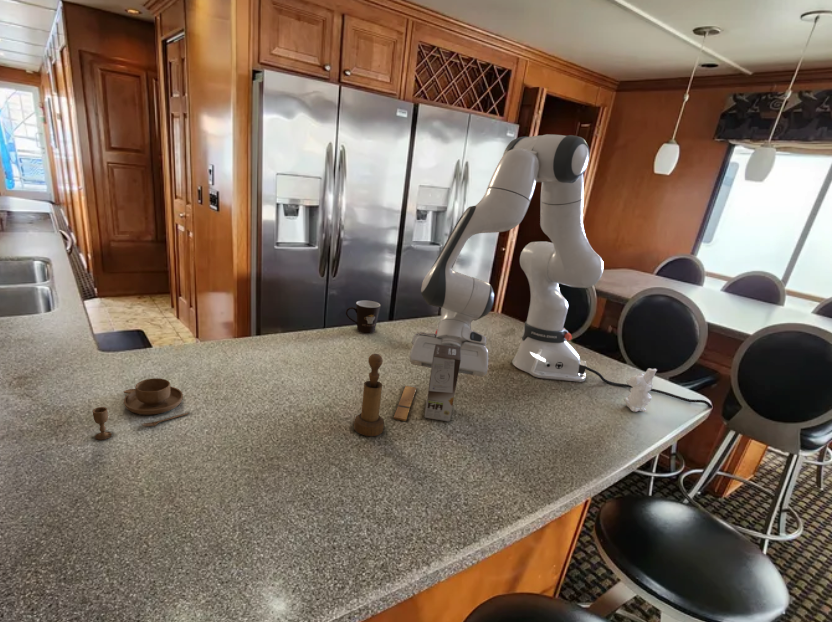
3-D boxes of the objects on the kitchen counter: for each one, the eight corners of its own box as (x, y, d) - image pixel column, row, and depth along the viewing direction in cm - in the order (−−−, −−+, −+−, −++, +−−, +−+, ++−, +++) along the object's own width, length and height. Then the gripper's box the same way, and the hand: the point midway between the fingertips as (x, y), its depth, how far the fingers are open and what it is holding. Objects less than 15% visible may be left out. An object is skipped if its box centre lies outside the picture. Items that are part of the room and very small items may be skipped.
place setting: (199, 412, 102) (197, 388, 100) (99, 443, 88) (95, 416, 86) (164, 383, 112) (163, 361, 110) (70, 407, 98) (66, 382, 96)
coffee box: (450, 422, 109) (461, 360, 103) (423, 418, 109) (433, 356, 104) (450, 404, 117) (460, 346, 111) (426, 400, 118) (434, 343, 112)
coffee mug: (378, 328, 169) (381, 302, 165) (376, 335, 161) (379, 308, 157) (347, 324, 169) (349, 298, 166) (343, 331, 161) (345, 304, 158)
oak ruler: (416, 389, 124) (416, 387, 123) (405, 421, 107) (406, 419, 107) (405, 387, 124) (405, 385, 124) (393, 418, 108) (393, 416, 107)
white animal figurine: (634, 401, 130) (647, 363, 126) (656, 413, 125) (670, 373, 120) (614, 405, 127) (626, 365, 123) (635, 416, 121) (649, 376, 117)
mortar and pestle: (387, 425, 104) (395, 353, 98) (377, 439, 99) (386, 363, 92) (360, 418, 106) (366, 346, 100) (349, 431, 100) (355, 356, 94)
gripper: (414, 325, 120) (403, 373, 115) (492, 338, 117) (485, 388, 112) (414, 335, 126) (404, 382, 121) (489, 348, 123) (482, 396, 117)
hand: (444, 385), depth 116 cm, fingers closed
